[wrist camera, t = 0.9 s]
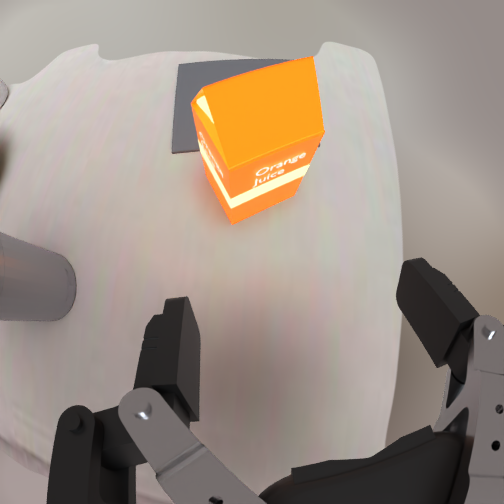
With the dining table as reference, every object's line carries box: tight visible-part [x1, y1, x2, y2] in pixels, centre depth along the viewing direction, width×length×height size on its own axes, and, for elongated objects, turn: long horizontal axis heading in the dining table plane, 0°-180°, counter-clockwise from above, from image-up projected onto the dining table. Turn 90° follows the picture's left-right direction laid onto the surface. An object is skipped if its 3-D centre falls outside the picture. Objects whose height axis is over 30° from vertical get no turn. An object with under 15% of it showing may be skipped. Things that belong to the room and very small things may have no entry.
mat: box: [172, 59, 320, 154], centre depth 39 cm, size 20×18×1 cm
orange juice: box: [191, 56, 325, 225], centre depth 26 cm, size 8×9×20 cm
